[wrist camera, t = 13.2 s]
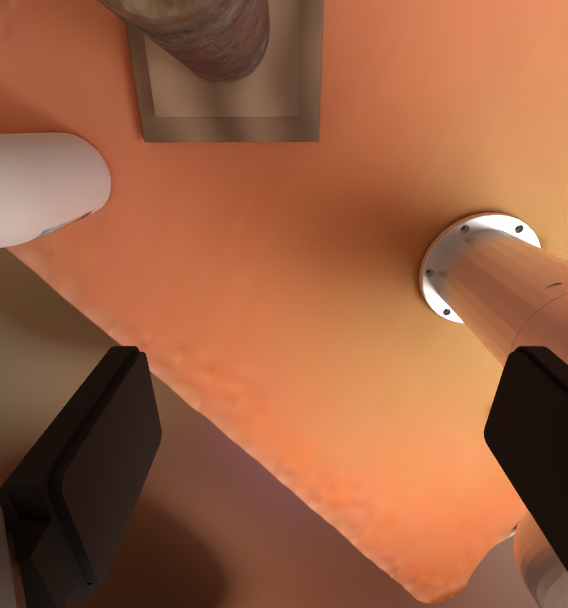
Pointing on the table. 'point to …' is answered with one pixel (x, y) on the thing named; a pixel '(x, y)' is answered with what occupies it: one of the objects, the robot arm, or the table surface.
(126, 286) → the table surface
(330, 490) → the table surface
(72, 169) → the milk bottle
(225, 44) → the dark brown rough cylinder
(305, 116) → the plinth
